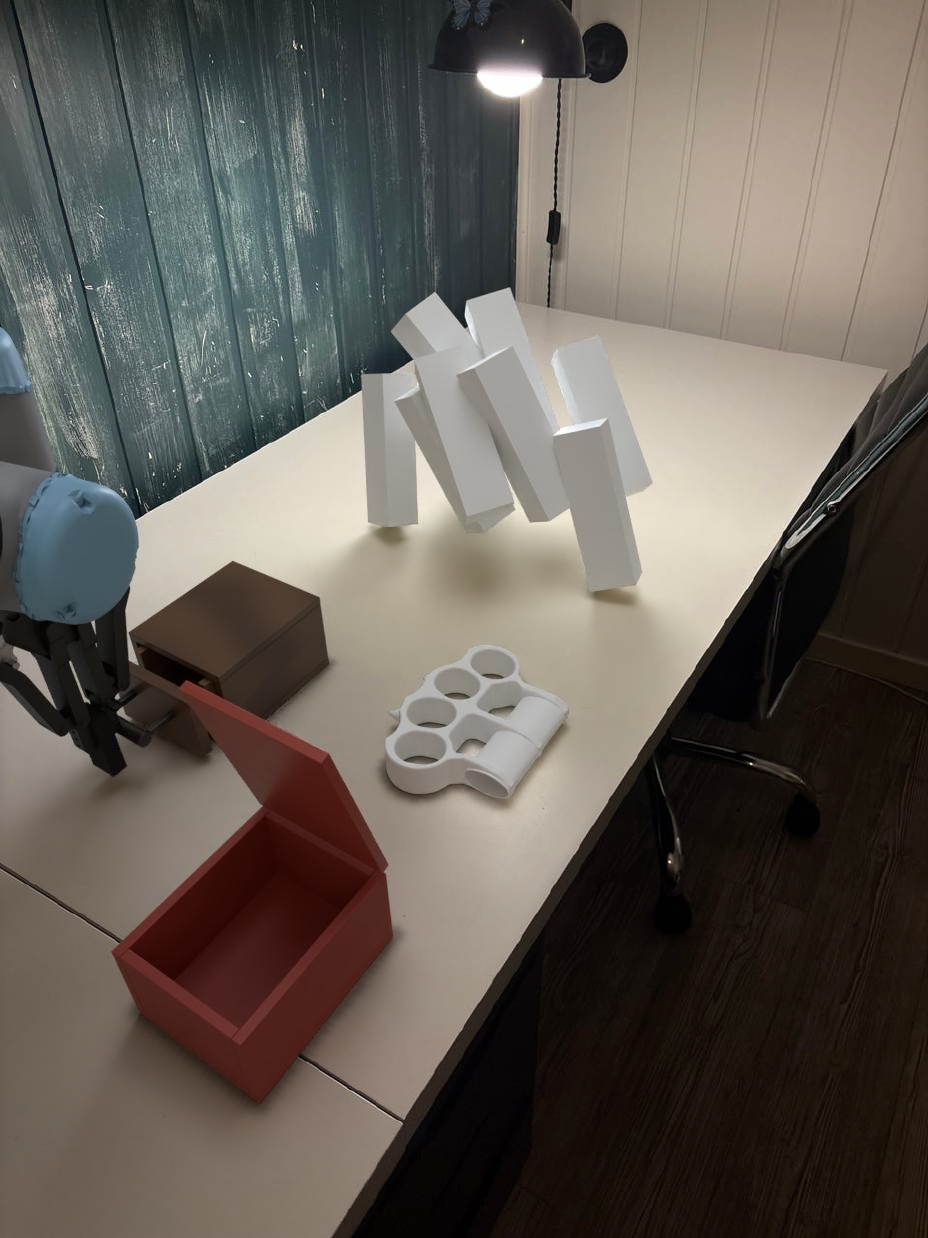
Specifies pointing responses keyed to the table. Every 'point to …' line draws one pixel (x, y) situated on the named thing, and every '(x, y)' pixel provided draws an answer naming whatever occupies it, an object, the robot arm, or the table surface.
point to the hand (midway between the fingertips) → (110, 765)
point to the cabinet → (242, 636)
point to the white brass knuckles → (472, 726)
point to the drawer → (163, 703)
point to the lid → (287, 775)
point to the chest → (257, 949)
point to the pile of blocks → (505, 433)
